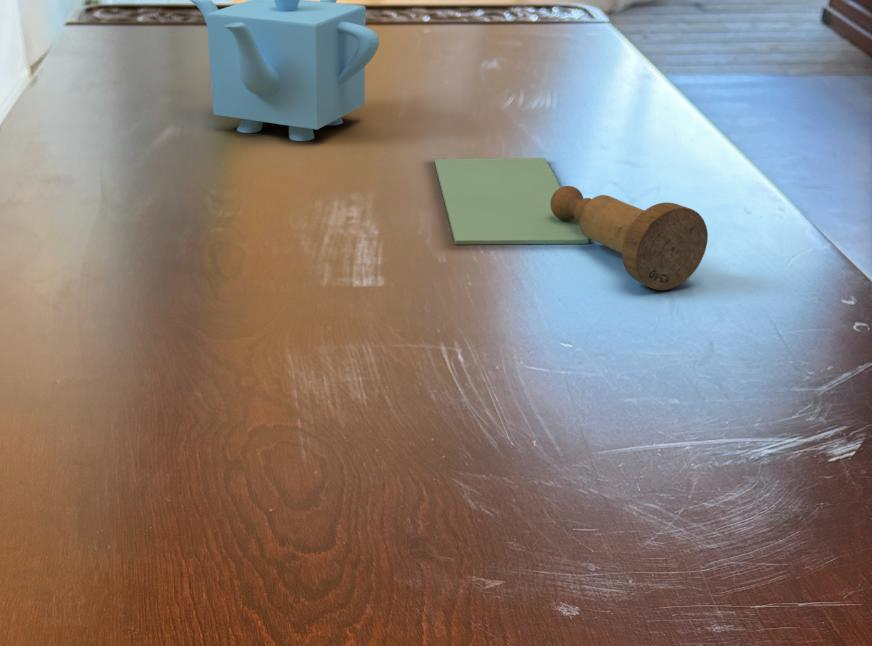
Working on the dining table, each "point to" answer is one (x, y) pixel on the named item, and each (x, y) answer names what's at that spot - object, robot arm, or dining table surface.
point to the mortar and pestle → (640, 234)
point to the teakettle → (288, 62)
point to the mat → (503, 202)
